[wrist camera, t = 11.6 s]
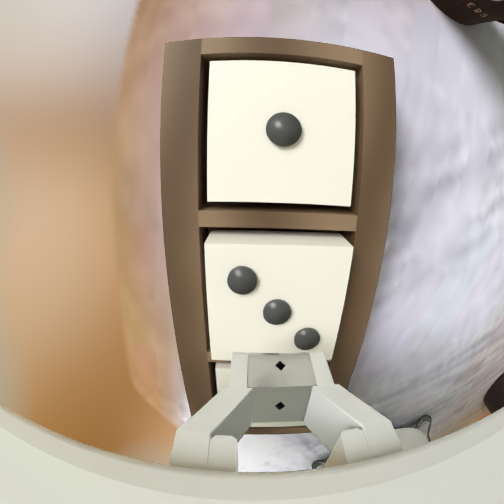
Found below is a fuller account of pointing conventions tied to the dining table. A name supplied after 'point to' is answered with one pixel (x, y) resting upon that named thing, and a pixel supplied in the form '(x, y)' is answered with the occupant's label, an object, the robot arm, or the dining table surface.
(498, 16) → the coffee mug
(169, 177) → the tile board
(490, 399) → the bottle
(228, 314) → the three dot tile
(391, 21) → the dining table surface
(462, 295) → the dining table surface
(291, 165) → the one dot tile
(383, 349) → the dining table surface
